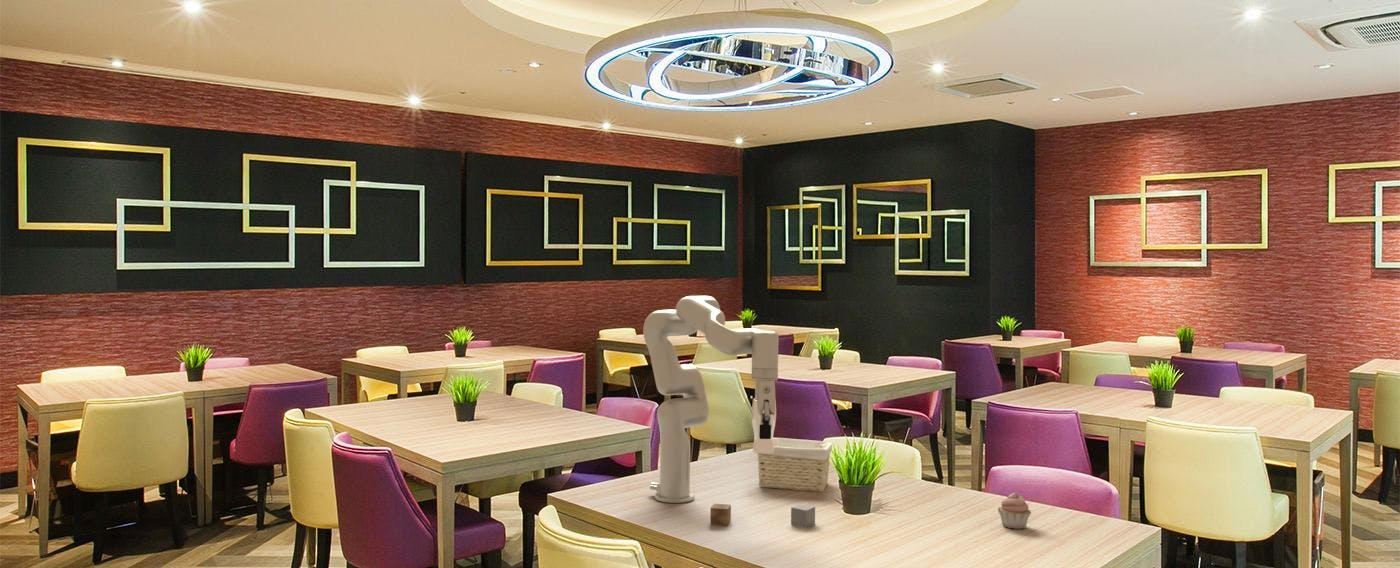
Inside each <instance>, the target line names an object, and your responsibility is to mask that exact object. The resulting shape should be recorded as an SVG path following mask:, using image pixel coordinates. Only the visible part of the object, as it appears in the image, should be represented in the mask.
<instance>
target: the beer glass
mask: <svg viewBox="0 0 1400 568" xmlns="http://www.w3.org/2000/svg"><path fill="white" fill-rule="evenodd" d="M776 400H777V399H776V398H775V411H776V413H775V415H773V414H774V413H771V410H770V417H771V439H760V438H759V432H760V425H761V416H760V414H758V408H757V400H755V397H753V398H752V406H751V407H752V408H751V422H752V429H753V436H754V437H753V439H754V440H753V447H752V452H754V453H756V454H758V453H763V454H767V453H773V452H774V447H773V438H774V431H775V428H776V421H777V404H776V403H777V401H776ZM762 414H765V412H764V410H763V411H762ZM763 417H764V416H763Z"/></svg>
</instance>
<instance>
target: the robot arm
mask: <svg viewBox="0 0 1400 568" xmlns="http://www.w3.org/2000/svg"><path fill="white" fill-rule="evenodd" d="M725 324H726V316H725V314H724V312H723V311H722V310H721V307H720V304H719V302H718V300H716V299H715V297H713V296H710V295H689V296H685V297H682V298H680V299H679V301H678V302H677V304H676V305H675V309H661V310H655V311H653V312H651V313H650V314H648V316H646V318H645V320H644V323H643V329H642V330H643V333H642V334H643V338H644V342H645V344H646V345H645V346H646V347H647V350H648V353H649V357H650V361H651V367H652V371H653V377H654V382H655V386H656V389H657V391H658V393H660V394H661V395H663V396H674V395H683V397H679V398H678V397H677V398H672V399H667V400H665V401H663V402H662V403H661V404H660V405H659V407H658V409H657V412H656V413H657V416H656V418H657V422H658V427H659V438H660V439H659V441H660V443H659V450H660V451H659V454H660V455H659V482H652V481H651V482H650V484H649V489H650V490H651V491H652V490H654V491H656V493H655V494H654V499H655V500H656V501H659V502H660V503H661V502H662V503H668V504H672V503H673V504H681V503H687V502H692V501H693V500H694V499H695V494H694V493H693V492H692V491H690V490H691V487H690V486H691V485H690V483H691V441H690V437H689V436H688V435H689V434H687V432H686V429H687V428H693V427H700V426H701V425H704V424H705V423H707V421H708V418H709V414H710V411H709V404H708V402H709V401H708V399H707V398H708V397H707V393H706V388H705V385H704V384H705V383H704V379H703V375H702V374H701V371H700V370H699V368H697V367H696V366H695V365H693V364H689V363H683V364H682V363H681V364H680V361H679V358H678V353H677V350H676V348H675V346H674V345H673V343H672V342H671V341H670V340H669V339H668V337H678V336H690V335H693V334H695V333H697V332H701V333H703V334H704V337H705V339H706V341H707V343H708V344H709V346H711V347H712V348H714V349H715V350H717V351H718V352H721V353H723V354H726V355H728V356H739V355H751V380H754V382H755V383H754V384H755V385H754V386H755V387H754V398H755V400H757V408H758V414H760V416H761V425H760V432H759V438H760V439H771V417H770V410H771V413H774V414H773V415H775V413H776V414H777V410H776V411H775V399H776V383H775V381H777V380H779V339H780V338H779V334H778V332H776V331H773V330H761V329H758V328H754V327H753V328H749V327H748V328H732V329H731V328H728V327H727V326H725ZM763 410H764V412H765V414H762V411H763ZM763 416H764V417H763Z"/></svg>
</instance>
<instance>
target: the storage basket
mask: <svg viewBox="0 0 1400 568" xmlns="http://www.w3.org/2000/svg"><path fill="white" fill-rule="evenodd" d="M832 445H833V443H832V442H831V441H823V440H814V439H813V440H810V439H798V438H797V439H796V438H786V437H785V438H784V437H773V447H774V452H773V453H767V454H763V453H757V461H758V481H759V484H758V485H759V487H761V488H768V489H769V488H770V489H771V488H773V489H779V490H780V489H781V490H783V489H787V490H792V491H798V490H800V491H801V492H802V491H804V492H805V491H807V492H809V491H810V492H821V493H823V492H824V491H825V489H826V487H827V484H828V478H829V474H828V473H829V470H830V469H829V467H830V456H831V452H832V449H833V448H832Z"/></svg>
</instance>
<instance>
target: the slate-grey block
mask: <svg viewBox="0 0 1400 568" xmlns="http://www.w3.org/2000/svg"><path fill="white" fill-rule="evenodd" d="M790 509H791V510H790V525H792V526H795V527H801V528H805V529H806V528H809V527H811V526H814V525H815V524H816V506H813V505H807V504H801V503H799V504H797V505H794V506H791V508H790Z"/></svg>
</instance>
